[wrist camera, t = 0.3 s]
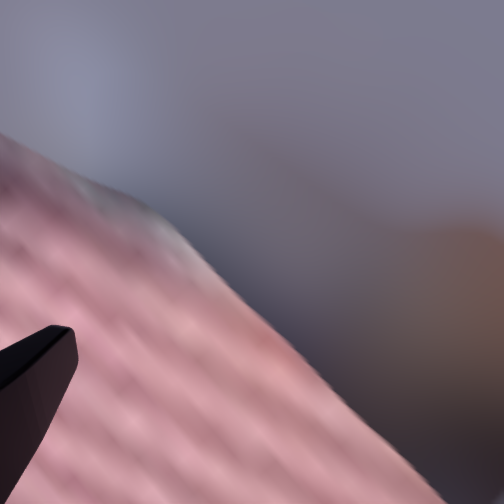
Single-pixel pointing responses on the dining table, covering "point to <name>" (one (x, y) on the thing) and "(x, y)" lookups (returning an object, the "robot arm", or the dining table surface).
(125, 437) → the dining table surface
